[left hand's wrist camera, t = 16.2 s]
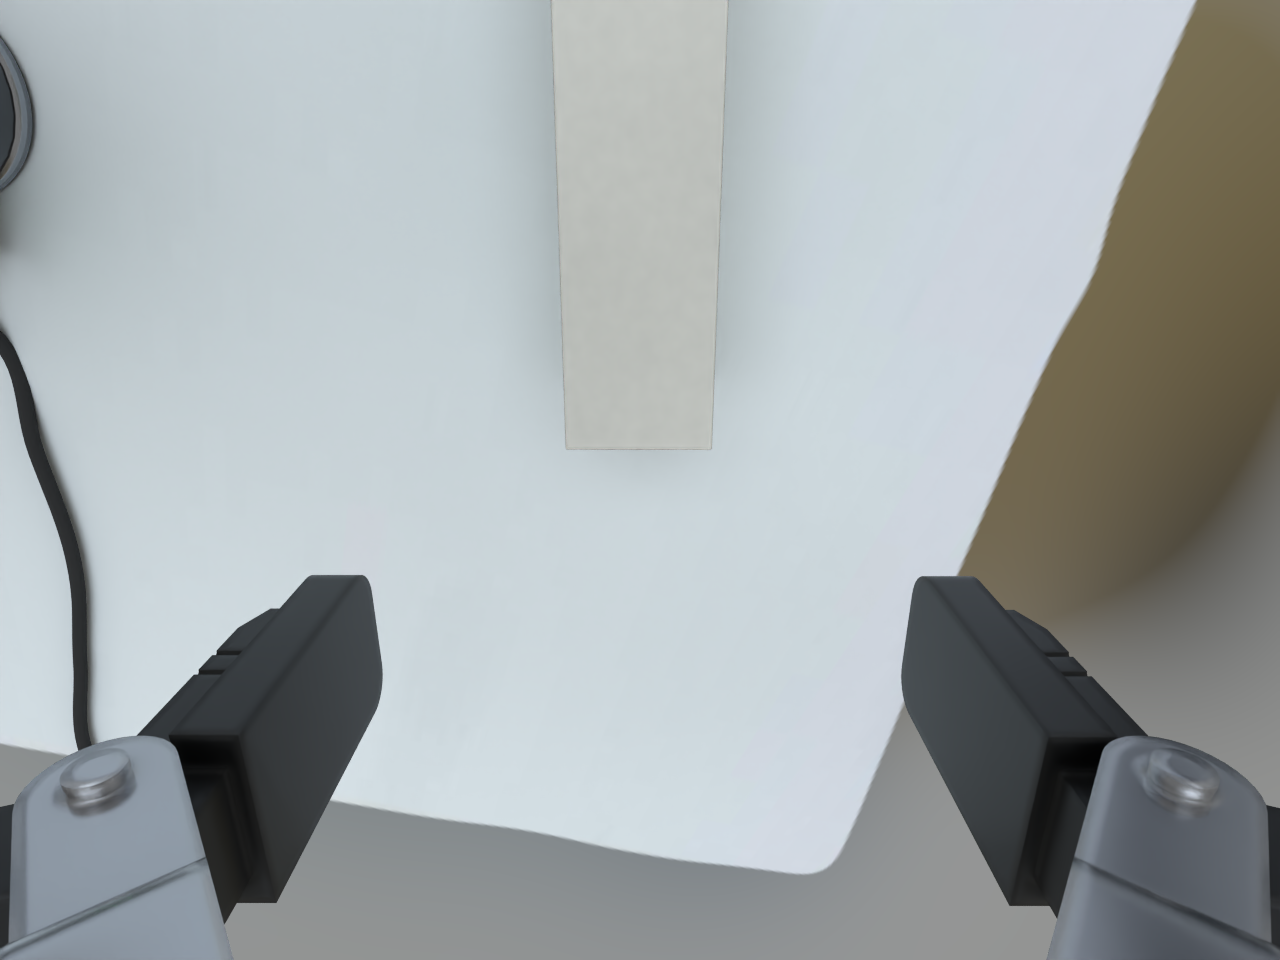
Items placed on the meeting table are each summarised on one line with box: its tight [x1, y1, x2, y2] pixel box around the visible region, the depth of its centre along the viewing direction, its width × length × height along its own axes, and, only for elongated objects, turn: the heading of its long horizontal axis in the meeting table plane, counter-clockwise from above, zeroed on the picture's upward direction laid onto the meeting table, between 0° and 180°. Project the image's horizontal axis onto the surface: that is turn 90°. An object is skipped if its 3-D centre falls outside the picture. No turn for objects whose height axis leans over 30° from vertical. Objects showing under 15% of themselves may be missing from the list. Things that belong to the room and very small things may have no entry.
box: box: [551, 0, 728, 450], centre depth 31 cm, size 24×6×11 cm, turn 0°
